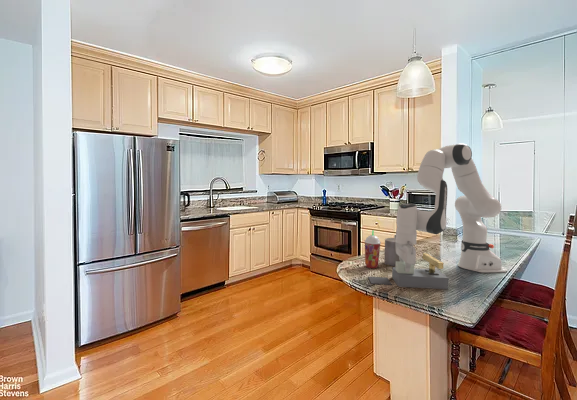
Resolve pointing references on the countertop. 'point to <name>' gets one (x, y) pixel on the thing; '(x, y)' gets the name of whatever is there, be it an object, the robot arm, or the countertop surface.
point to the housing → (421, 279)
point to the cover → (403, 268)
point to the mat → (379, 280)
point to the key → (432, 262)
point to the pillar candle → (390, 252)
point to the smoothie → (372, 251)
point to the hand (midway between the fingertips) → (404, 268)
